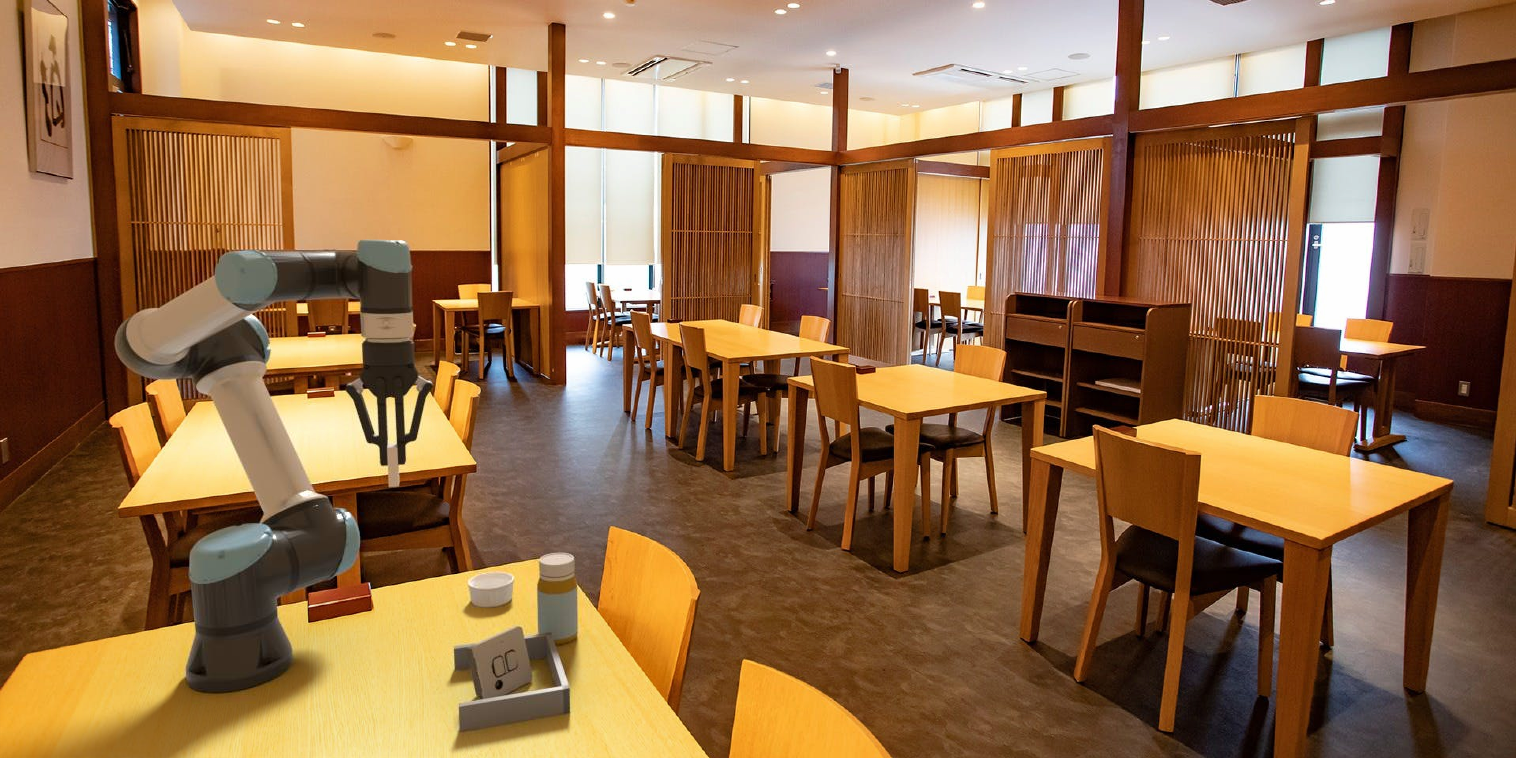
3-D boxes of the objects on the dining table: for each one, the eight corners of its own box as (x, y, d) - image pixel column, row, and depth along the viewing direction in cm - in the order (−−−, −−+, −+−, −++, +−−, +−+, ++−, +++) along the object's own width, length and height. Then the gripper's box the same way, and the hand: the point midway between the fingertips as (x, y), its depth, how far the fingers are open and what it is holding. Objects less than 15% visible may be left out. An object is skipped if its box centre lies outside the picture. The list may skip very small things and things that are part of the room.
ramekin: (460, 607, 168) (459, 586, 168) (481, 589, 177) (480, 569, 176) (502, 611, 167) (501, 590, 166) (522, 593, 175) (521, 572, 175)
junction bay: (454, 668, 144) (453, 646, 143) (551, 653, 150) (551, 632, 149) (459, 732, 126) (458, 706, 125) (570, 712, 132) (569, 688, 131)
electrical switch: (487, 705, 133) (481, 648, 132) (466, 698, 136) (460, 642, 135) (534, 681, 141) (529, 626, 140) (513, 675, 144) (508, 621, 143)
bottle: (585, 635, 157) (584, 557, 155) (557, 649, 151) (556, 569, 149) (558, 625, 161) (557, 549, 159) (530, 639, 155) (528, 560, 153)
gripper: (339, 342, 129) (347, 494, 133) (432, 341, 133) (437, 487, 137) (344, 337, 136) (351, 481, 140) (432, 335, 140) (437, 475, 144)
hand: (394, 484), depth 138 cm, fingers closed
